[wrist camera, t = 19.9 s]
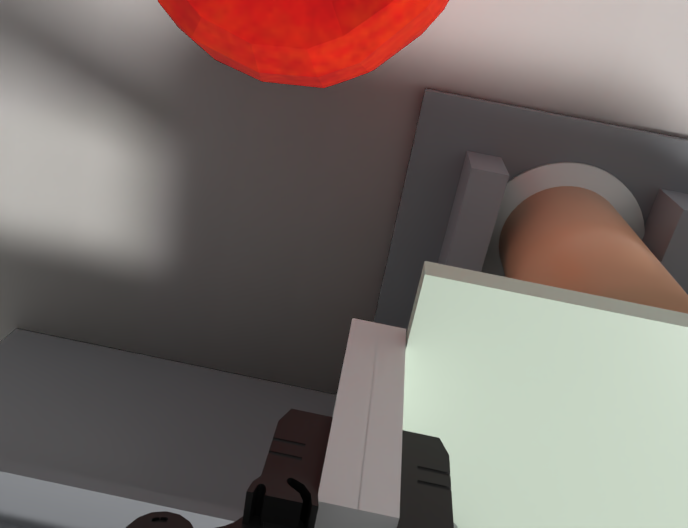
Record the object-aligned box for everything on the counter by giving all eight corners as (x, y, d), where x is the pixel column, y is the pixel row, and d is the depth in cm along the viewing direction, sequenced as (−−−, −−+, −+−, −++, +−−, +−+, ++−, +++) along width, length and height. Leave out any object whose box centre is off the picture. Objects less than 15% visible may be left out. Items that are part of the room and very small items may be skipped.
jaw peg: (642, 199, 25) (750, 307, 17) (599, 307, 27) (677, 449, 19) (517, 175, 25) (565, 271, 17) (485, 284, 27) (513, 416, 19)
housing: (-7, 5, 25) (-352, 27, 14) (971, 193, 24) (1458, 384, 13) (17, 352, 32) (-197, 552, 21) (769, 509, 31) (966, 808, 20)
